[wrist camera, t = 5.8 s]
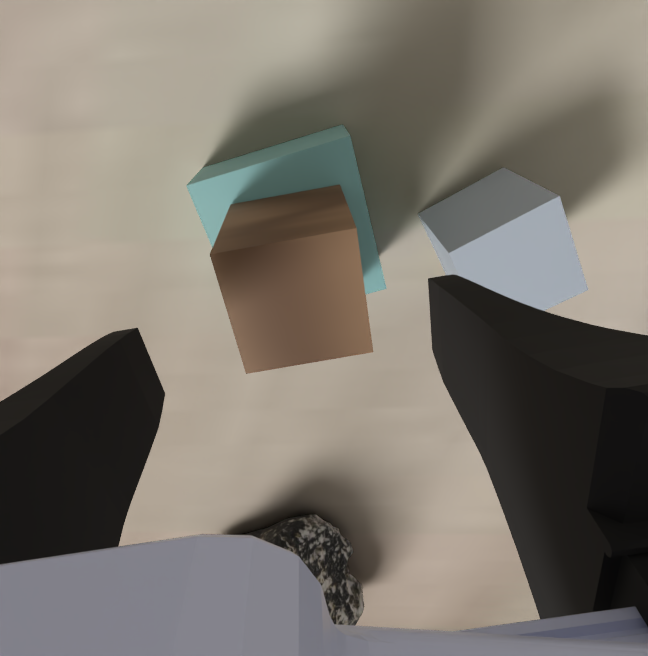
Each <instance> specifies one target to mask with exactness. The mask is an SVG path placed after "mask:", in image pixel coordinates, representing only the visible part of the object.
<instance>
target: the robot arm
mask: <svg viewBox="0 0 648 656" xmlns="http://www.w3.org/2000/svg"><path fill="white" fill-rule="evenodd" d="M428 285H429V301H430V318H431V334H432V350H433V353H434V356H435V359H436V362H437V365H438V368H439V371H440V374H441V377H442V379H443V382H444V384H445V386H446V388H447V390H448V392H449V394H450V396H451V398H452V400H453V402H454V404H455V406H456V408H457V410H458V412H459V414H460V415H461V417H462V419H463V421H464V423H465V425H466V427H467V429H468V431H469V433H470V435H471V437H472V439H473V440H474V442H475V444H476V446H477V448H478V450H479V452H480V454H481V457H482V459H483V461H484V463H485V465H486V467H487V470H488V473H489V475H490V478H491V480H492V483H493V486H494V488H495V491H496V493H497V496H498V499H499V501H500V504H501V507H502V509H503V512H504V515H505V518H506V520H507V523H508V526H509V529H510V531H511V534H512V537H513V540H514V542H515V545H516V548H517V551H518V554H519V557H520V560H521V563H522V566H523V569H524V571H525V574H526V577H527V580H528V583H529V586H530V589H531V592H532V595H533V598H534V601H535V604H536V607H537V610H538V613H539V616H540V619H539V620H532V621H525V622H517V623H510V624H503V625H495V626H488V627H481V628H474V629H466V630H459V631H437V630H420V629H404V628H387V627H370V626H354V625H337V624H334V623H333V621H332V619H331V617H330V615H329V611H328V608H327V604H326V601H325V597H324V593H323V590H322V586H321V584H320V583H319V581H318V580H317V579H316V578H315V576H314V575H313V574H312V573H311V571H310V570H309V569H308V567H307V566H306V565H305V564H304V562H303V561H302V560H301V558H300V557H299V556H297V555H296V554H294V553H293V552H291V551H289V550H286V549H284V548H281V547H279V546H276V545H274V544H271V543H269V542H266V541H264V540H261V539H259V538H257V537H254V536H252V535H218V534H200V535H193V536H186V537H180V538H173V539H166V540H159V541H153V542H146V543H139V544H133V545H126V546H119V547H118V545H119V541H120V537H121V533H122V529H123V525H124V522H125V519H126V515H127V512H128V509H129V506H130V503H131V501H132V498H133V495H134V493H135V490H136V487H137V485H138V482H139V479H140V477H141V474H142V471H143V469H144V466H145V463H146V461H147V458H148V455H149V453H150V450H151V447H152V444H153V442H154V439H155V436H156V433H157V430H158V427H159V423H160V418H161V414H162V408H163V402H164V397H165V392H164V390H163V387H162V385H161V383H160V380H159V378H158V375H157V373H156V371H155V368H154V366H153V364H152V361H151V359H150V356H149V354H148V352H147V349H146V347H145V344H144V342H143V340H142V337H141V335H140V332H139V330H138V328H134V329H128V330H122V331H116V332H112V333H110V334H108V335H106V336H104V337H102V338H100V339H99V340H97V341H95V342H94V343H92V344H90V345H89V346H87V347H86V348H84V349H82V350H81V351H79V352H78V353H76V354H75V355H73V356H72V357H70V358H69V359H67V360H66V361H64V362H63V363H61V364H60V365H58V366H57V367H55V368H54V369H52V370H51V371H49V372H48V373H46V374H44V375H43V376H41V377H40V378H38V379H36V380H35V381H33V382H32V383H30V384H28V385H27V386H25V387H24V388H22V389H20V390H19V391H17V392H16V393H14V394H12V395H11V396H9V397H8V398H6V399H4V400H3V401H1V402H0V656H648V336H647V335H641V334H635V333H630V332H625V331H619V330H614V329H608V328H604V327H599V326H595V325H590V324H587V323H583V322H579V321H575V320H572V319H568V318H564V317H561V316H558V315H554V314H551V313H548V312H545V311H542V310H540V309H537V308H534V307H531V306H529V305H526V304H523V303H521V302H518V301H516V300H513V299H511V298H508V297H506V296H504V295H501V294H499V293H497V292H494V291H492V290H490V289H488V288H486V287H483V286H481V285H479V284H477V283H475V282H472V281H470V280H468V279H465V278H463V277H461V276H458V275H454V274H452V275H446V276H440V277H434V278H429V279H428Z"/></svg>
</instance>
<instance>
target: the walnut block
mask: <svg viewBox="0 0 648 656" xmlns="http://www.w3.org/2000/svg"><path fill="white" fill-rule="evenodd" d="M210 257H211V260H212V263H213V266H214V270H215V273H216V276H217V280H218V283H219V286H220V289H221V293H222V296H223V299H224V303H225V306H226V309H227V312H228V316H229V319H230V322H231V325H232V329H233V332H234V335H235V339H236V342H237V345H238V348H239V352H240V355H241V358H242V362H243V365H244V368H245V371H246V374H247V373H253V372H259V371H265V370H271V369H277V368H283V367H288V366H294V365H300V364H306V363H312V362H318V361H324V360H329V359H335V358H341V357H347V356H353V355H359V354H365V353H370V352H373V347H372V340H371V332H370V325H369V317H368V310H367V302H366V295H365V287H364V280H363V272H362V265H361V257H360V250H359V242H358V235H357V228H356V225H355V223H354V220H353V217H352V215H351V212H350V209H349V207H348V204H347V202H346V199H345V196H344V194H343V191H342V188H341V186H340V184H339V185H334V186H328V187H323V188H317V189H312V190H306V191H301V192H295V193H290V194H284V195H279V196H273V197H268V198H262V199H257V200H251V201H246V202H240V203H235V204H231V205H230V207H229V209H228V212H227V214H226V217H225V219H224V221H223V224H222V226H221V229H220V231H219V233H218V236H217V238H216V241H215V243H214V245H213V248H212V250H211V253H210Z"/></svg>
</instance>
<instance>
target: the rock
mask: <svg viewBox="0 0 648 656" xmlns="http://www.w3.org/2000/svg"><path fill="white" fill-rule="evenodd" d="M244 535H252V536H254V537H257V538H259V539H261V540H264V541H266V542H269V543H271V544H274V545H276V546H279V547H281V548H284V549H286V550H289V551H291V552H293V553H294V554H296V555H297V556H299V557H300V558H301V560H302V561H303V562H304V564H305V565H306V566H307V567H308V569H309V570H310V571H311V573H312V574H313V575H314V576H315V578H316V579H317V580H318V581H319V583H320V584H321V586H322V590H323V593H324V597H325V601H326V604H327V608H328V611H329V615H330V617H331V619H332V621H333V623H334V624H337V625H354V626H355V625H356V623H357V621H358V619H359V618H360V616H361V615H362V613H363V609H364V601H363V594H362V593H363V591H362V585H361V583H359V582H358V581H357V580H356V579H355V578H354V577H353V576H352V575H351V574H349V568H348V567H347V562H348V558H349V557H350V556H351V555H352V553H353V549H352V546H351V543H350V542H349V541H348V540H347V539H346V538H344V537H343V536H341V534H340V532H339V529H338V528H335V527H333V526H332V525H331V523H330V522H326V521H324V520H322V519H321V518H320V517H318V516H317V515H316V514H315V515H304V516H298V517H293V518H287V519H285V520H283V521H280V522H278V523H276V524H274V525H272V526H270V527H268V528H266V529H260V530H257V531H254V532H250V533H247V534H244Z"/></svg>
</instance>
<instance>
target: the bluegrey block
mask: <svg viewBox="0 0 648 656" xmlns="http://www.w3.org/2000/svg"><path fill="white" fill-rule="evenodd" d="M418 215H419V218H420V220H421V222H422V224H423V226H424V228H425V230H426V233H427V235H428V237H429V239H430V241H431V243H432V245H433V248H434V250H435V252H436V254H437V256H438V258H439V260H440V263H441V265H442V267H443V269H444V271H445V273H446V275H452V274H454V275H458V276H461V277H463V278H465V279H468V280H470V281H472V282H475V283H477V284H479V285H481V286H483V287H486V288H488V289H490V290H492V291H494V292H497V293H499V294H501V295H504V296H506V297H508V298H511V299H513V300H516V301H518V302H521V303H523V304H526V305H529V306H531V307H534V308H537V309H540V310H542V311H544V310H546V309H549V308H551V307H553V306H555V305H557V304H559V303H561V302H563V301H566V300H568V299H570V298H572V297H574V296H576V295H578V294H581V293H583V292H585V291H587V290H588V287H587V284H586V281H585V278H584V274H583V271H582V268H581V264H580V261H579V258H578V255H577V251H576V248H575V245H574V241H573V238H572V235H571V231H570V228H569V225H568V222H567V218H566V215H565V212H564V208H563V205H562V202H561V198H560V196H559V195H557V194H555V193H553V192H551V191H549V190H547V189H545V188H543V187H541V186H540V185H538V184H536V183H534V182H532V181H530V180H528V179H526V178H524V177H522V176H520V175H518V174H516V173H514V172H512V171H510V170H508V169H506V168H504V167H503V168H501V169H499V170H497V171H496V172H494V173H492V174H490V175H488V176H486V177H485V178H483V179H481V180H479V181H477V182H475V183H474V184H472V185H470V186H468V187H466V188H464V189H463V190H461V191H459V192H457V193H455V194H453V195H451V196H450V197H448V198H446V199H444V200H442V201H440V202H439V203H437V204H435V205H433V206H431V207H429V208H428V209H426V210H424V211H422V212H420V213H418Z"/></svg>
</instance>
